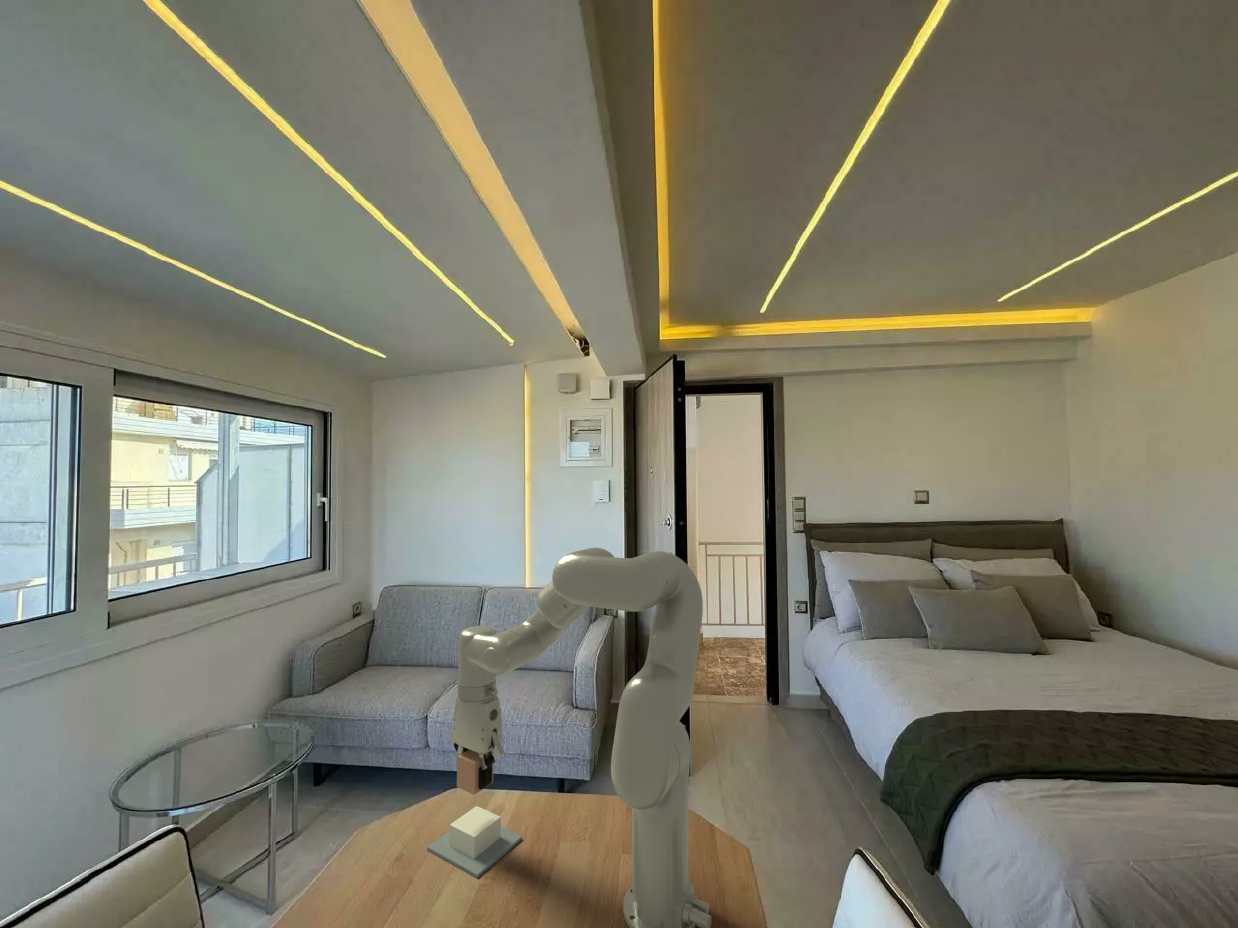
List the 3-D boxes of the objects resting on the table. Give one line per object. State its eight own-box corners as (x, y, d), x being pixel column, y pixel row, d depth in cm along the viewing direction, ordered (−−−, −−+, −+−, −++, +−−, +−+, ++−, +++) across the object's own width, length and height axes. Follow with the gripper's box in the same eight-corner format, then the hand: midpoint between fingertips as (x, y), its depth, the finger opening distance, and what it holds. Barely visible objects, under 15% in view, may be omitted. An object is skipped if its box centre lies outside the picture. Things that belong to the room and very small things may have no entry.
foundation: (521, 839, 102) (522, 815, 102) (477, 877, 91) (477, 851, 92) (473, 816, 109) (474, 794, 109) (427, 849, 99) (427, 825, 99)
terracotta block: (492, 782, 102) (493, 751, 102) (474, 794, 97) (474, 763, 98) (475, 774, 104) (476, 745, 105) (456, 786, 100) (457, 756, 100)
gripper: (520, 692, 101) (519, 785, 100) (462, 675, 110) (460, 761, 109) (493, 705, 94) (491, 805, 93) (434, 687, 103) (431, 777, 102)
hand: (475, 780), depth 101 cm, fingers closed on terracotta block, 5 cm apart
